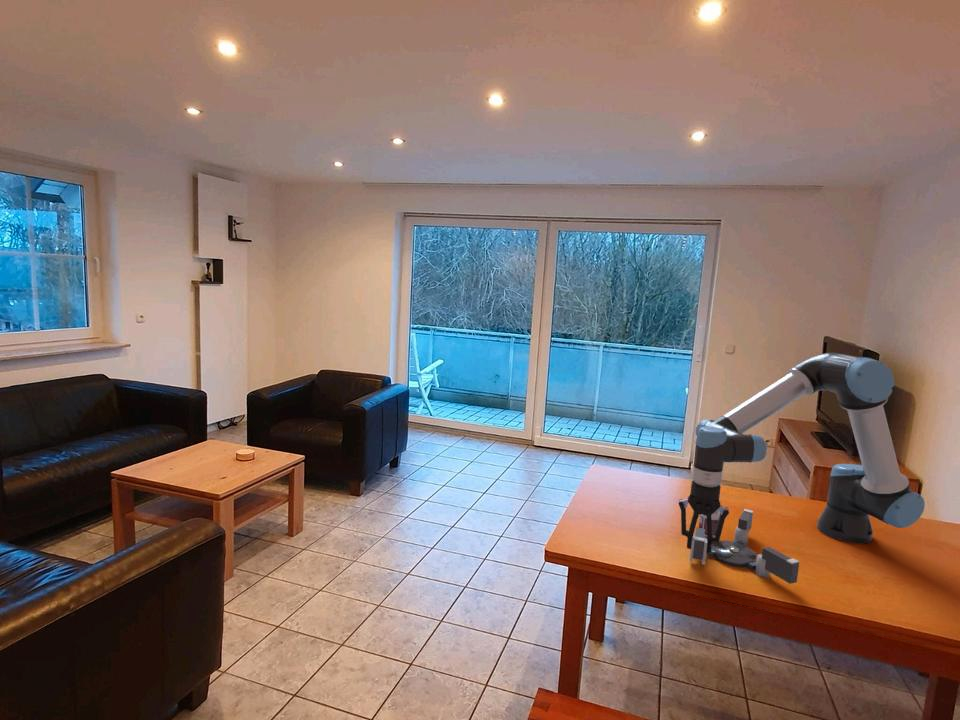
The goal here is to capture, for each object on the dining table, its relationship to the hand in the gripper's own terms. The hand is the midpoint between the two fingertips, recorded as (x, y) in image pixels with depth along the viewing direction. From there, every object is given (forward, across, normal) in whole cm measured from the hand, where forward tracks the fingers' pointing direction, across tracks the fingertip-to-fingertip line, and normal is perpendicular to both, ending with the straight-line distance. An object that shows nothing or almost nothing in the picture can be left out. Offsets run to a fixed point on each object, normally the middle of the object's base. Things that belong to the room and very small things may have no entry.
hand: (697, 560), depth 153 cm
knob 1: (+1, +13, +23) cm, 26 cm away
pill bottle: (+1, +3, +19) cm, 19 cm away
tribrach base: (+1, +10, +10) cm, 14 cm away
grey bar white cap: (+1, +20, 0) cm, 20 cm away
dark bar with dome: (+1, 0, +3) cm, 3 cm away
